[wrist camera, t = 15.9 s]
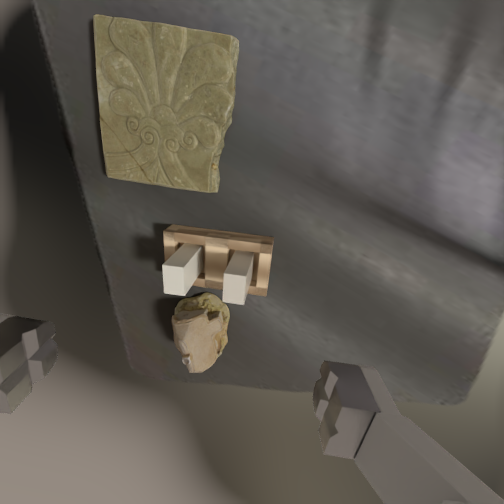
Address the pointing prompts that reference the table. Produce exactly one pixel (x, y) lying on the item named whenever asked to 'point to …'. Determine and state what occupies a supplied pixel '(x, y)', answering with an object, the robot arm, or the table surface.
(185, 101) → the decorative tile
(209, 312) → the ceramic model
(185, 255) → the white rectangular block
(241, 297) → the white upright prism
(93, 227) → the table surface
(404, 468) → the robot arm
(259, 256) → the rack
